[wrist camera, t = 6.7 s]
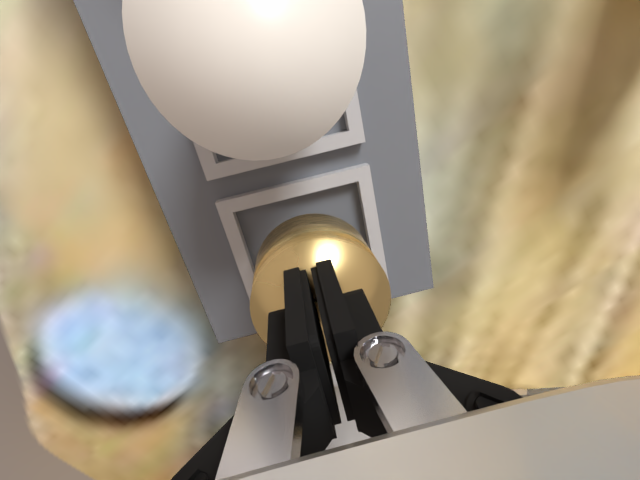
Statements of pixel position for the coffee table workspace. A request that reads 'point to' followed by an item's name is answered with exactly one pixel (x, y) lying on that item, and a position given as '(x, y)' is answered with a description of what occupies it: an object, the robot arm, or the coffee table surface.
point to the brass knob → (304, 251)
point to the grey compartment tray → (282, 173)
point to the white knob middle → (248, 69)
